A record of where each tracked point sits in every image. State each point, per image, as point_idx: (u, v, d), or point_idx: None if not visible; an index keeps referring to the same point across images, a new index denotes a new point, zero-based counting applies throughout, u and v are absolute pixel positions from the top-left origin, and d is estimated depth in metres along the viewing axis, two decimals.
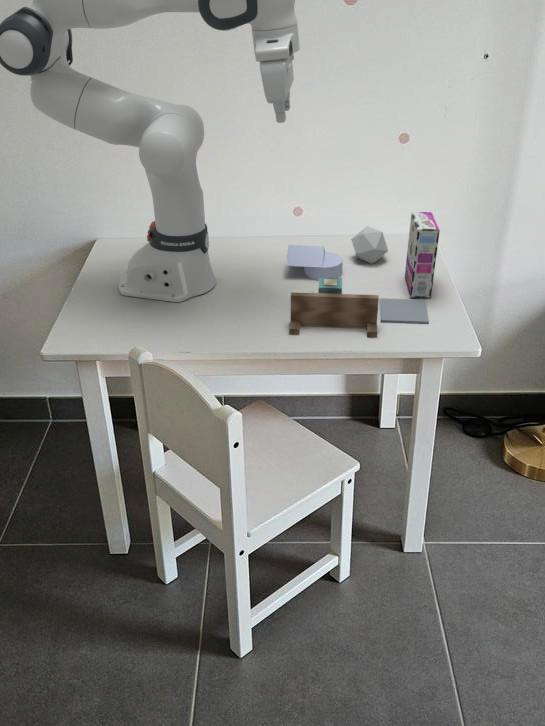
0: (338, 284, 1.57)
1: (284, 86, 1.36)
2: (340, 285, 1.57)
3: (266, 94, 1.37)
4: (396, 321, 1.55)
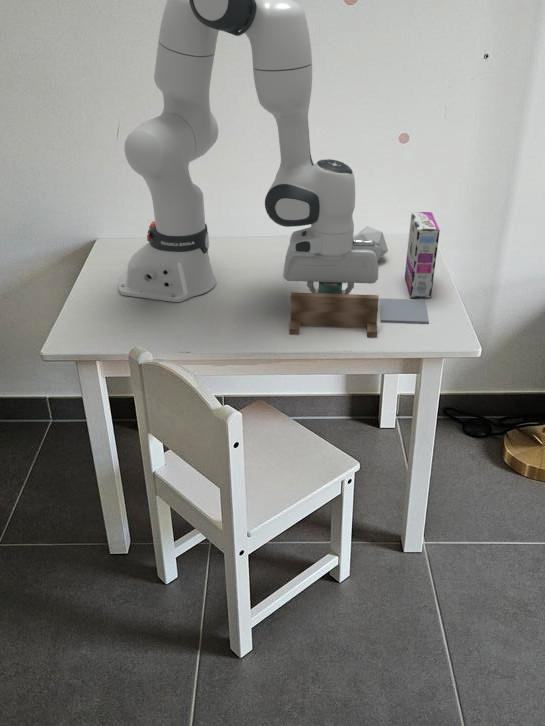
0: (338, 284, 1.57)
1: (284, 269, 1.55)
2: (340, 285, 1.57)
3: None
4: (396, 321, 1.55)
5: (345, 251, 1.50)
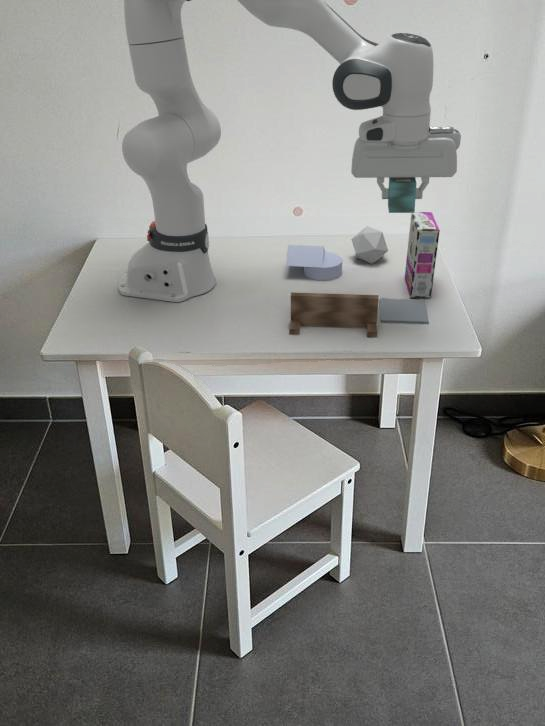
0: (411, 180, 1.43)
1: (352, 163, 1.41)
2: (413, 180, 1.42)
3: None
4: (396, 321, 1.55)
5: (422, 138, 1.36)
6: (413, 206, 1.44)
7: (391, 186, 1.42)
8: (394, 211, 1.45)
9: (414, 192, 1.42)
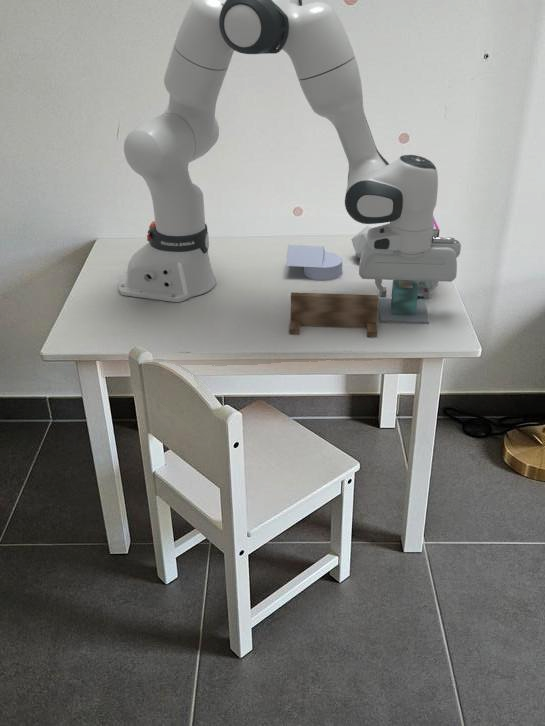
0: (413, 286, 1.55)
1: (360, 266, 1.52)
2: (415, 287, 1.54)
3: (359, 264, 1.56)
4: (396, 321, 1.55)
5: (425, 248, 1.47)
6: (414, 310, 1.56)
7: (395, 292, 1.54)
8: (397, 313, 1.57)
9: (416, 298, 1.54)
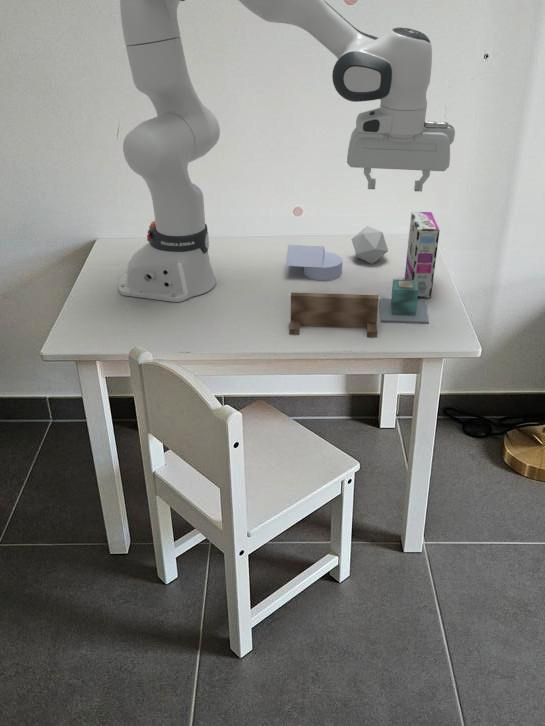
0: (413, 286, 1.55)
1: (348, 153, 1.44)
2: (415, 287, 1.54)
3: None
4: (396, 321, 1.55)
5: (417, 131, 1.39)
6: (414, 310, 1.56)
7: (395, 292, 1.54)
8: (397, 313, 1.57)
9: (416, 298, 1.54)
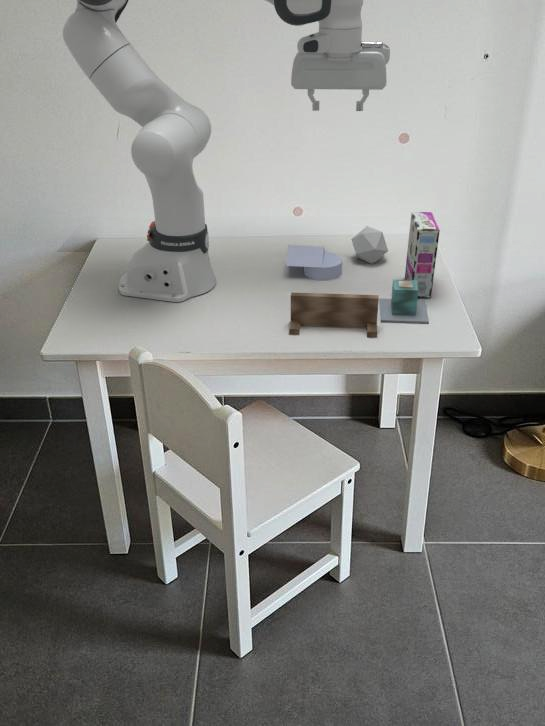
0: (413, 286, 1.55)
1: (292, 74, 1.54)
2: (415, 287, 1.54)
3: None
4: (396, 321, 1.55)
5: (353, 50, 1.49)
6: (414, 310, 1.56)
7: (395, 292, 1.54)
8: (397, 313, 1.57)
9: (416, 298, 1.54)
